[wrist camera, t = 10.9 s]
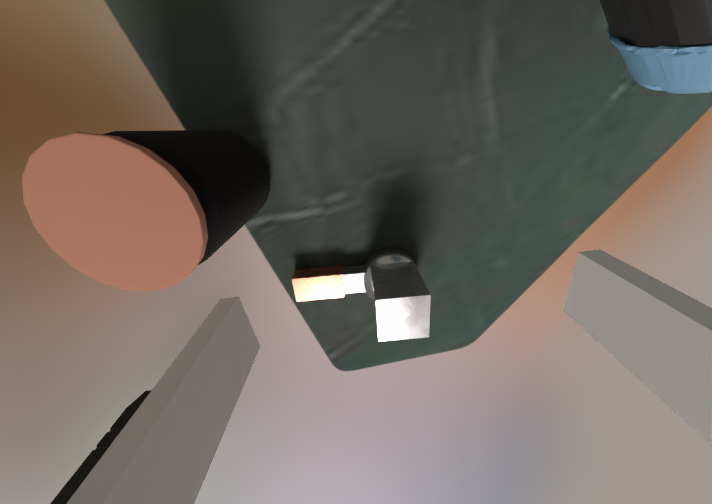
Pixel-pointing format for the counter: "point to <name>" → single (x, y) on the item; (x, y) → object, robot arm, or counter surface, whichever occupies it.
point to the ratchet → (342, 277)
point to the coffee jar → (142, 201)
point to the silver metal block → (400, 301)
